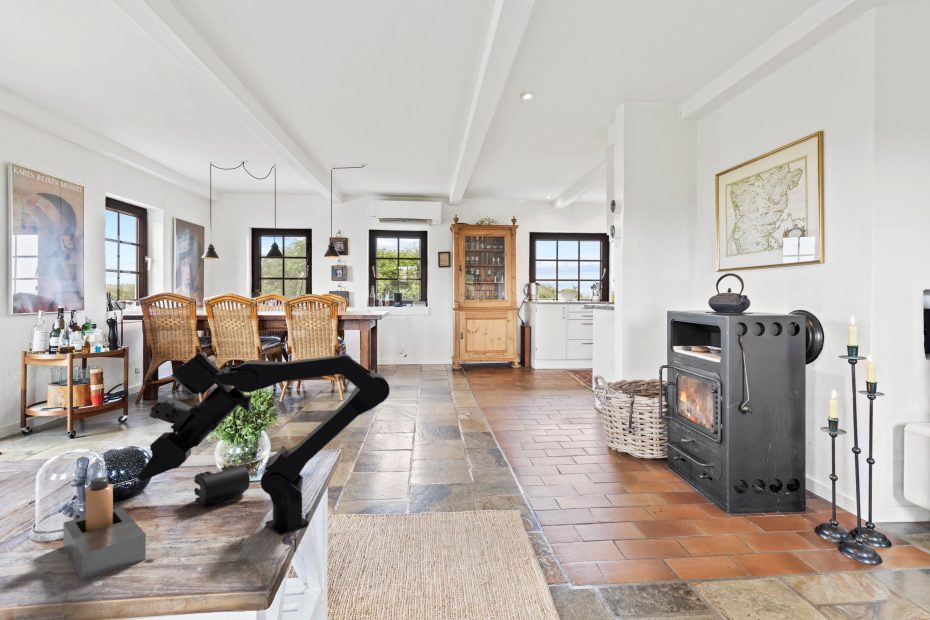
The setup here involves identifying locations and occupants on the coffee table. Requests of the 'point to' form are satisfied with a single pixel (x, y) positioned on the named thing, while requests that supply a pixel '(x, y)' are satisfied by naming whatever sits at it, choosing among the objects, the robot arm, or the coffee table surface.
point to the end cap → (221, 484)
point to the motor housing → (104, 545)
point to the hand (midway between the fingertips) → (148, 470)
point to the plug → (99, 504)
